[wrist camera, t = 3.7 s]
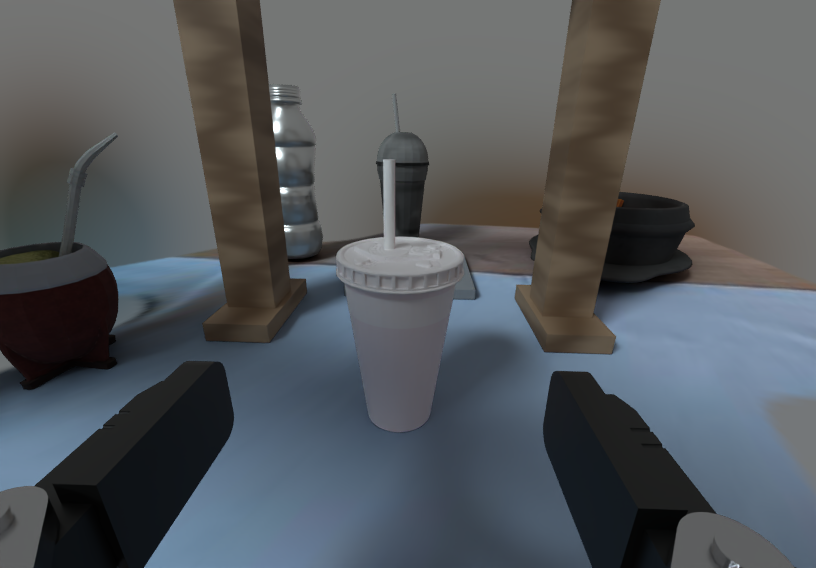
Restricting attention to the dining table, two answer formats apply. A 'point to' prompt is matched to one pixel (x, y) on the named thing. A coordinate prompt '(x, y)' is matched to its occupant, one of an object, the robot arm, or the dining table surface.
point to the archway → (564, 192)
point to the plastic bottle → (295, 172)
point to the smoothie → (399, 315)
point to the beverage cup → (405, 176)
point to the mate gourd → (58, 298)
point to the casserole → (644, 238)
